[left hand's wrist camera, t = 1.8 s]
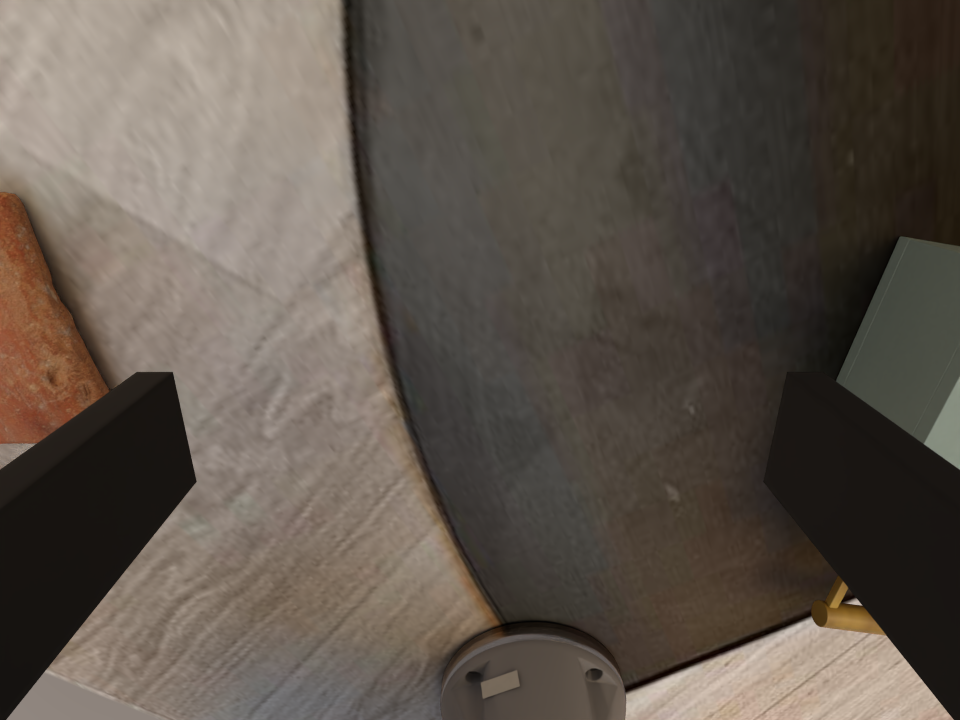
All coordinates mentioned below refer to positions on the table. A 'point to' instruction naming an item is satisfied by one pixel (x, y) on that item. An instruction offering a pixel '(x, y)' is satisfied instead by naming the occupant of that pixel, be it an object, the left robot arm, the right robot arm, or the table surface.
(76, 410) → the ceramic shard
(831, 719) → the table surface
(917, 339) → the cabinet
